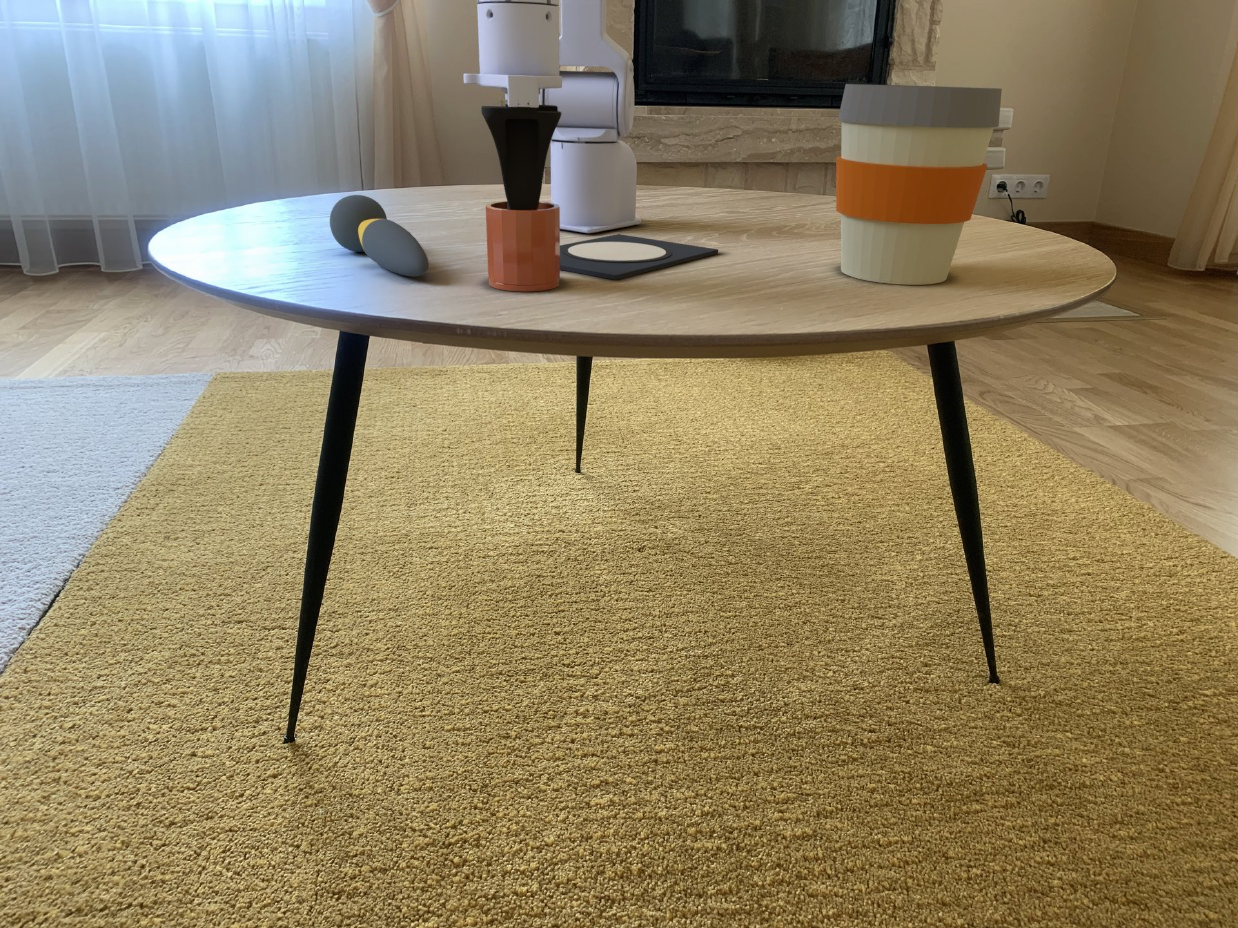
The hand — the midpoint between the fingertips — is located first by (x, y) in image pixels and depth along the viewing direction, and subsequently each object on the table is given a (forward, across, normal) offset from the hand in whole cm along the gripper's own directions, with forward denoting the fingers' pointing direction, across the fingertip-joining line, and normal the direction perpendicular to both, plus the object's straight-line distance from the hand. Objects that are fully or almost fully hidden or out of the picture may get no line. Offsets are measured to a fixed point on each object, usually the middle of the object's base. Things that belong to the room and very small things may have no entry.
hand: (522, 206), depth 66 cm
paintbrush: (+6, -9, -12) cm, 16 cm away
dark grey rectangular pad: (+6, -11, +9) cm, 15 cm away
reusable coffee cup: (+6, -3, +32) cm, 33 cm away
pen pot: (+6, 0, 0) cm, 6 cm away
